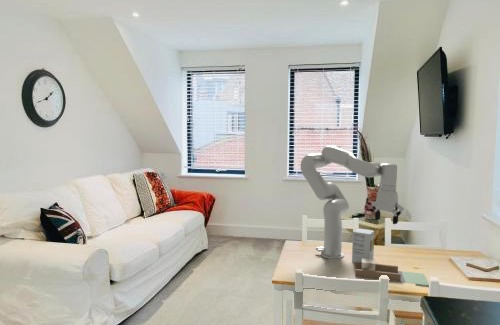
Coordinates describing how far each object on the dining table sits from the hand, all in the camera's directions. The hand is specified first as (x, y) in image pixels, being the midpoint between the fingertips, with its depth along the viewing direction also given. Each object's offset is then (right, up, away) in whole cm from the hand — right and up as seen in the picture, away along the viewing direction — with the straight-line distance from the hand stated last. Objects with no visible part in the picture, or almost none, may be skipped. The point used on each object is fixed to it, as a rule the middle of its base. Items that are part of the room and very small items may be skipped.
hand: (386, 221), depth 179 cm
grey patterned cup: (-11, -24, -6) cm, 27 cm away
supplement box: (-8, -24, +11) cm, 27 cm away
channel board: (-2, -25, -9) cm, 26 cm away
